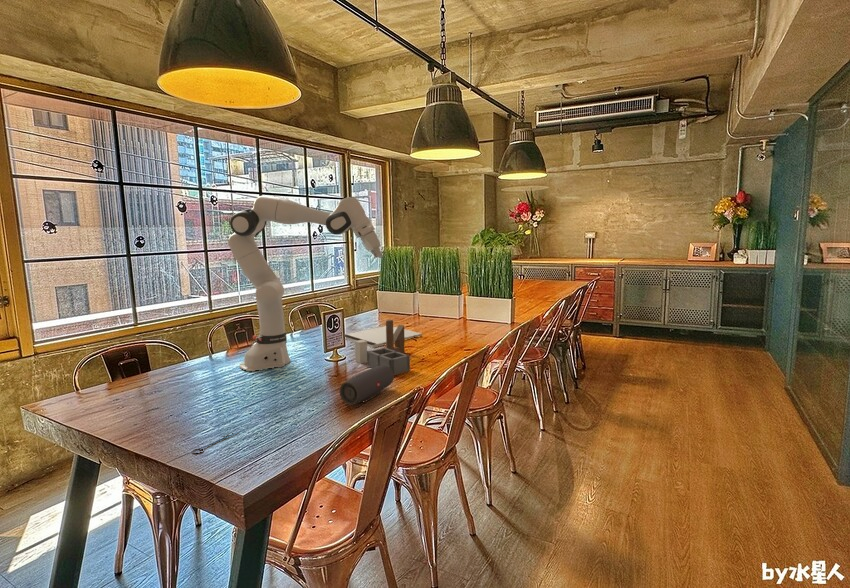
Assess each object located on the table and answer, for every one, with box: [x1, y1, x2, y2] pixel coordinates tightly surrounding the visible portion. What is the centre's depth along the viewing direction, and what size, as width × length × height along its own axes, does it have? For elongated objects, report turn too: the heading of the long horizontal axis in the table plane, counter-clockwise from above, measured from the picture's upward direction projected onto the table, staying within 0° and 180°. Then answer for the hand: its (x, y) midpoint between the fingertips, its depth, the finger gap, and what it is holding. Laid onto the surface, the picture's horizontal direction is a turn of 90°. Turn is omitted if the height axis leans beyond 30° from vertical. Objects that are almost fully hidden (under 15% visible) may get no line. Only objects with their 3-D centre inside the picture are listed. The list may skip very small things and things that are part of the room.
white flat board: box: [345, 325, 423, 349], centre depth 261 cm, size 35×2×31 cm
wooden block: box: [385, 319, 406, 354], centre depth 224 cm, size 4×11×18 cm, turn 142°
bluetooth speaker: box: [339, 365, 395, 406], centre depth 168 cm, size 23×9×10 cm, turn 151°
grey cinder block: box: [366, 347, 411, 376], centre depth 202 cm, size 10×18×7 cm, turn 41°
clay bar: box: [354, 340, 368, 365], centre depth 213 cm, size 4×4×10 cm
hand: (379, 257), depth 205 cm, fingers open, 8 cm apart
